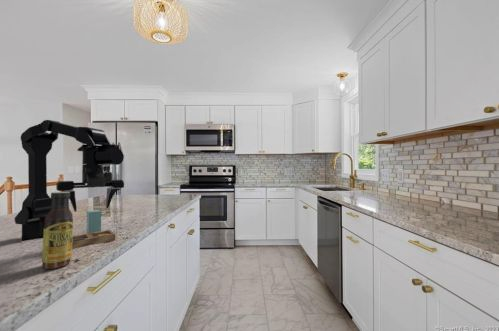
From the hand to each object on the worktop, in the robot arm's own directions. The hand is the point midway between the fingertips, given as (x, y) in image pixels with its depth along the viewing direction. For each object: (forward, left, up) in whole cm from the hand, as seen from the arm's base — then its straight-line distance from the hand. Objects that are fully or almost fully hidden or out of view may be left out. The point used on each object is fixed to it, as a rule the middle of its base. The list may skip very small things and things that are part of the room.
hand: (91, 209), depth 80 cm
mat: (+3, +12, -12) cm, 17 cm away
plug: (+3, +12, -12) cm, 17 cm away
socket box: (0, +2, -12) cm, 12 cm away
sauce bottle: (-10, -14, -12) cm, 21 cm away
